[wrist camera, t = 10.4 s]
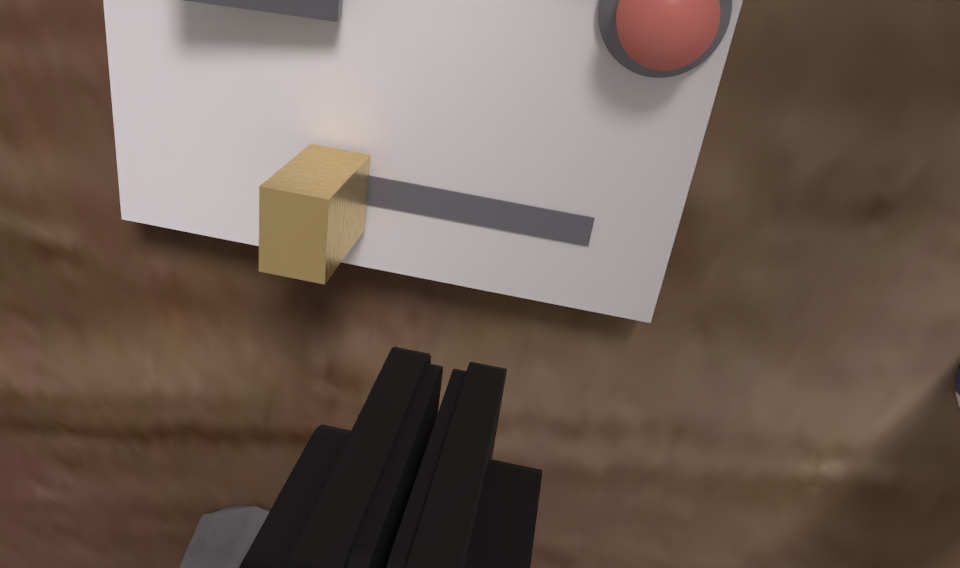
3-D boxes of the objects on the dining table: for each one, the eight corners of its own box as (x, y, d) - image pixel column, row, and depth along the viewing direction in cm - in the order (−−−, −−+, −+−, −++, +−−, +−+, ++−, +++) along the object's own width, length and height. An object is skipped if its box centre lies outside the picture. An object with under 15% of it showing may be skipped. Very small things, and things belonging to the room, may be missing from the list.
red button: (726, -31, 25) (733, -27, 23) (699, 68, 26) (704, 78, 25) (628, -47, 25) (629, -44, 24) (606, 52, 27) (606, 61, 25)
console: (760, -108, 26) (790, -109, 22) (647, 295, 34) (653, 355, 29) (126, -208, 28) (35, -228, 23) (152, 199, 35) (86, 242, 31)
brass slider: (370, 154, 30) (328, 199, 25) (364, 229, 31) (324, 284, 27) (310, 143, 30) (259, 186, 25) (307, 218, 31) (258, 271, 27)
